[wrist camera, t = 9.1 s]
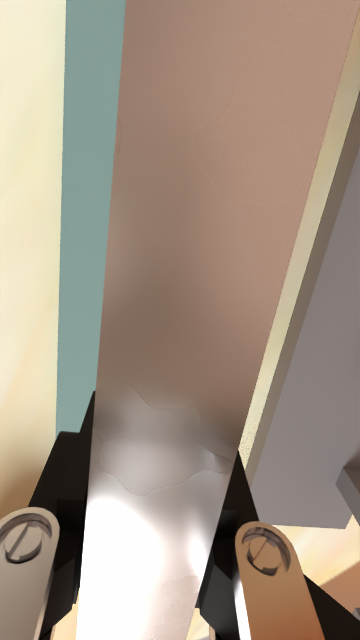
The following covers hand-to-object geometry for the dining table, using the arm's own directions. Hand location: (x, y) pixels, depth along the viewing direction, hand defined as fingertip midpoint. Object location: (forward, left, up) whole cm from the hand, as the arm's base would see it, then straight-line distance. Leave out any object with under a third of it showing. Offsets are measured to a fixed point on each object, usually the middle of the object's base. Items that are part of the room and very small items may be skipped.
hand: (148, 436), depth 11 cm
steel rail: (0, 0, +1) cm, 1 cm away
